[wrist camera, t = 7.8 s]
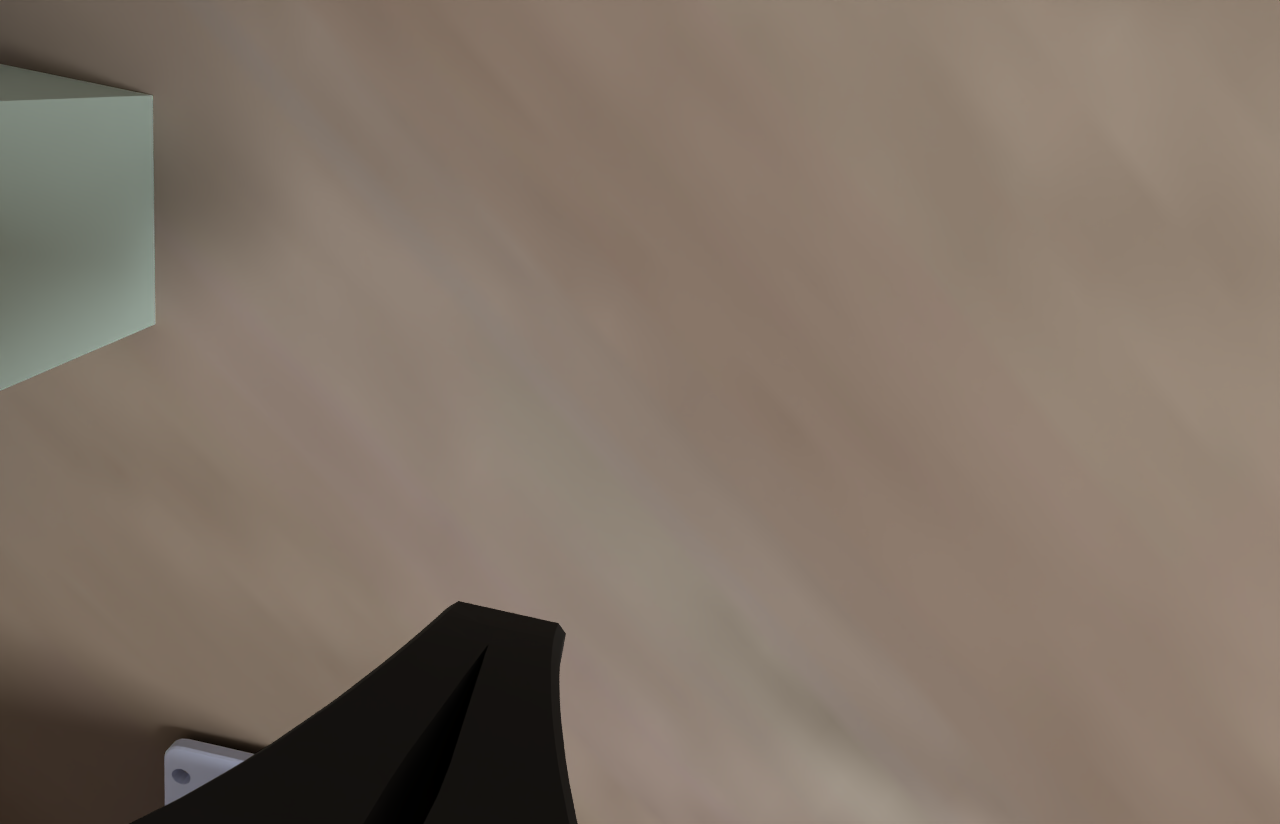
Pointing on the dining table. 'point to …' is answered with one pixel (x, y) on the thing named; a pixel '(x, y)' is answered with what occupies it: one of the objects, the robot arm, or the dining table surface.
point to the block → (72, 219)
